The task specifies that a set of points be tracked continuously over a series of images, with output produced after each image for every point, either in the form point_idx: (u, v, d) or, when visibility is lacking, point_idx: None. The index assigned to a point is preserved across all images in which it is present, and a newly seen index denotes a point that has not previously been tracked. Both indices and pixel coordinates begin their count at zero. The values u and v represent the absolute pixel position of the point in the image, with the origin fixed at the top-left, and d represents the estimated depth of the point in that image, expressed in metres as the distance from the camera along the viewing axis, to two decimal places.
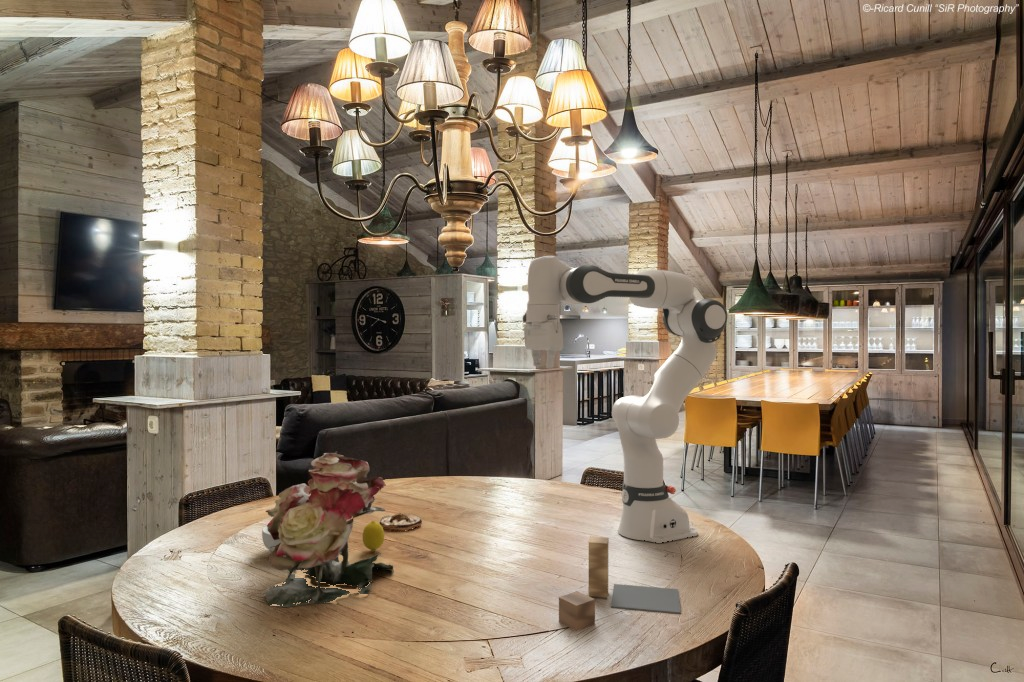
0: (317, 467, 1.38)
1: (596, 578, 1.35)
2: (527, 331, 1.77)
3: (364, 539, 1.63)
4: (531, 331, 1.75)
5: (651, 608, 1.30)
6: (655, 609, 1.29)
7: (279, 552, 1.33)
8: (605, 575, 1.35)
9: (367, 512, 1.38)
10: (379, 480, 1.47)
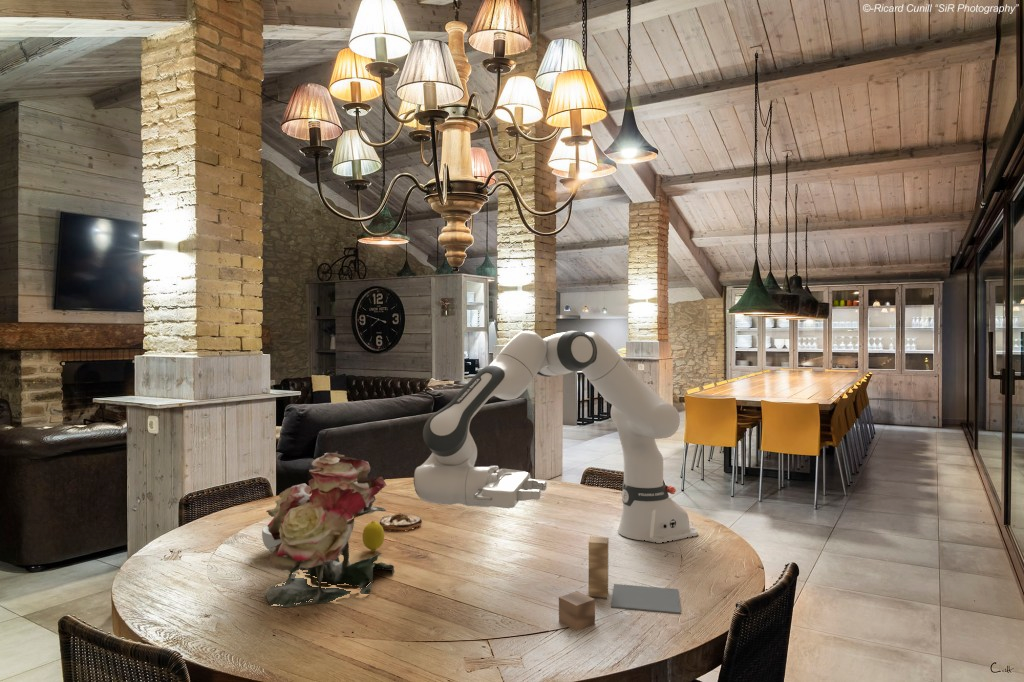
0: (318, 467, 1.38)
1: (596, 578, 1.35)
2: None
3: (364, 539, 1.63)
4: None
5: (651, 608, 1.30)
6: (655, 609, 1.29)
7: (280, 552, 1.33)
8: (605, 575, 1.35)
9: (368, 512, 1.39)
10: (380, 480, 1.47)
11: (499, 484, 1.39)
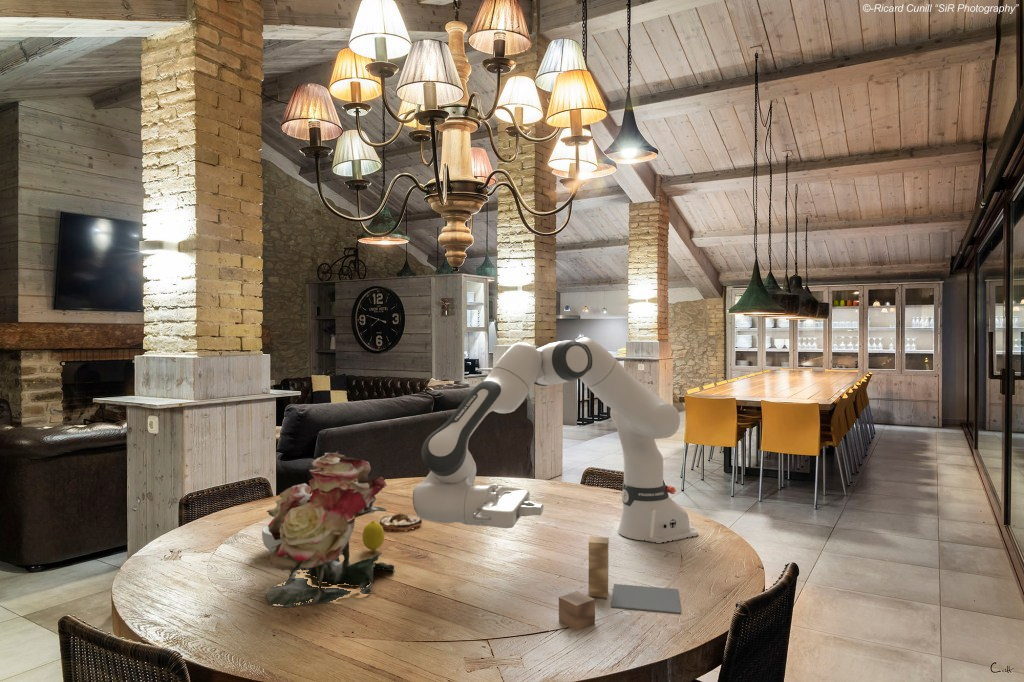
0: (318, 467, 1.39)
1: (596, 578, 1.35)
2: None
3: (364, 539, 1.63)
4: None
5: (651, 608, 1.30)
6: (655, 609, 1.29)
7: (280, 552, 1.33)
8: (605, 575, 1.35)
9: (368, 512, 1.39)
10: (380, 480, 1.47)
11: (498, 503, 1.39)
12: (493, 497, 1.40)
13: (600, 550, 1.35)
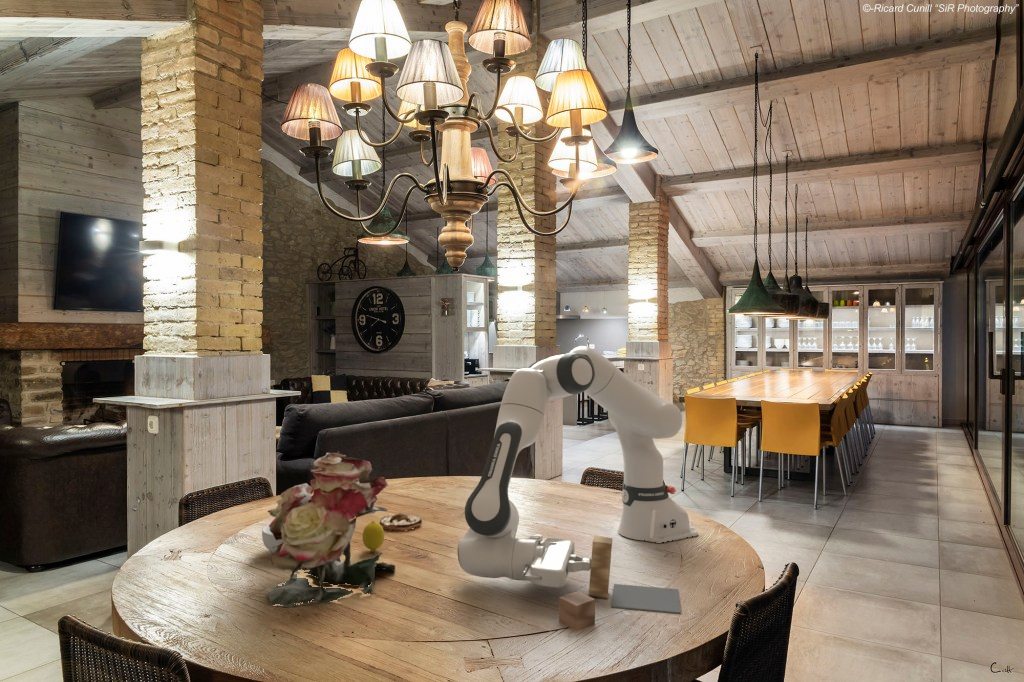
0: (320, 467, 1.39)
1: (597, 578, 1.35)
2: None
3: (364, 539, 1.63)
4: None
5: (651, 608, 1.30)
6: (655, 609, 1.29)
7: (282, 552, 1.33)
8: (607, 575, 1.35)
9: (370, 512, 1.39)
10: (381, 480, 1.47)
11: (546, 559, 1.37)
12: (540, 552, 1.38)
13: (603, 550, 1.35)
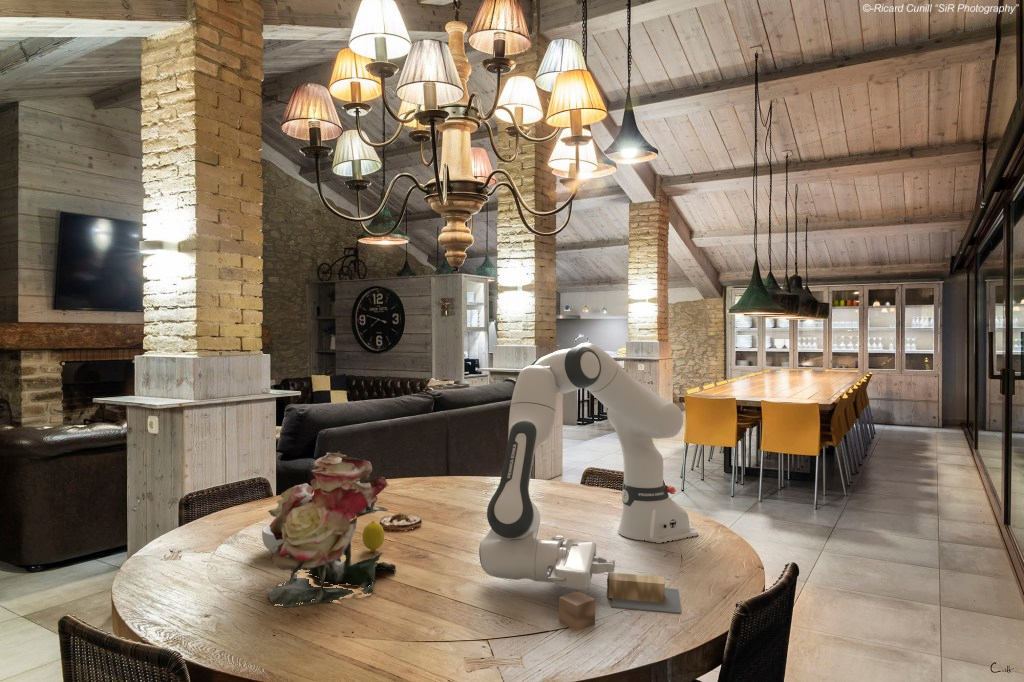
0: (320, 467, 1.39)
1: (627, 588, 1.34)
2: None
3: (364, 539, 1.63)
4: None
5: (651, 608, 1.30)
6: (655, 609, 1.29)
7: (282, 552, 1.33)
8: (631, 598, 1.34)
9: (370, 512, 1.39)
10: (382, 480, 1.47)
11: (570, 561, 1.35)
12: (564, 554, 1.37)
13: (656, 595, 1.33)
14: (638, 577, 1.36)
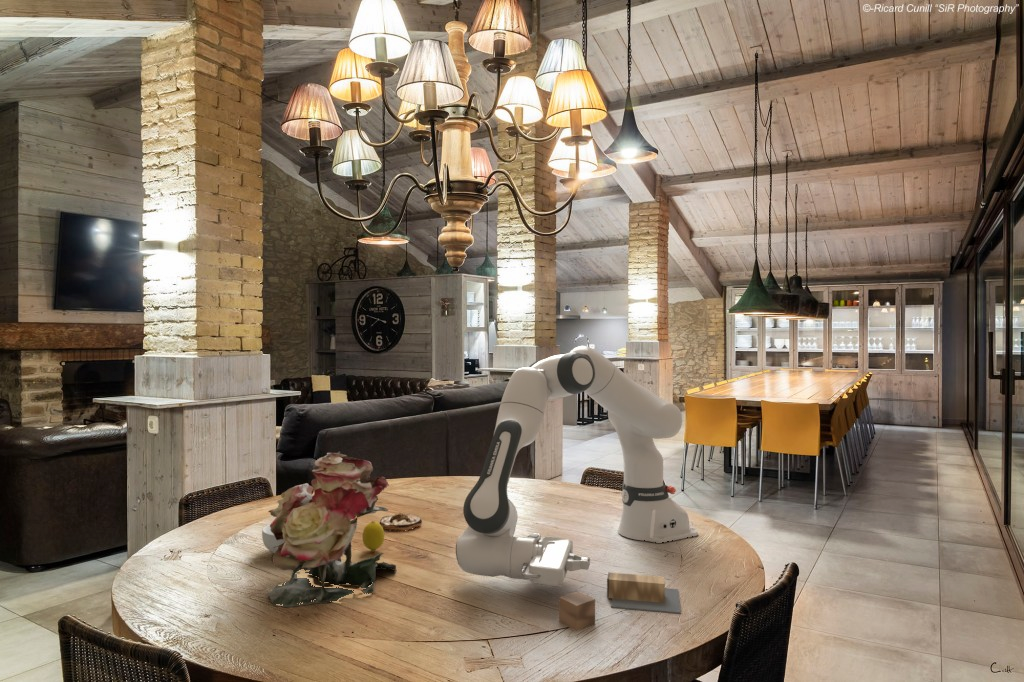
0: (321, 467, 1.39)
1: (627, 588, 1.34)
2: None
3: (364, 539, 1.63)
4: None
5: (651, 608, 1.30)
6: (655, 609, 1.29)
7: (283, 552, 1.33)
8: (631, 598, 1.34)
9: (371, 512, 1.39)
10: (382, 480, 1.47)
11: (545, 558, 1.36)
12: (539, 551, 1.38)
13: (656, 595, 1.33)
14: (638, 577, 1.36)
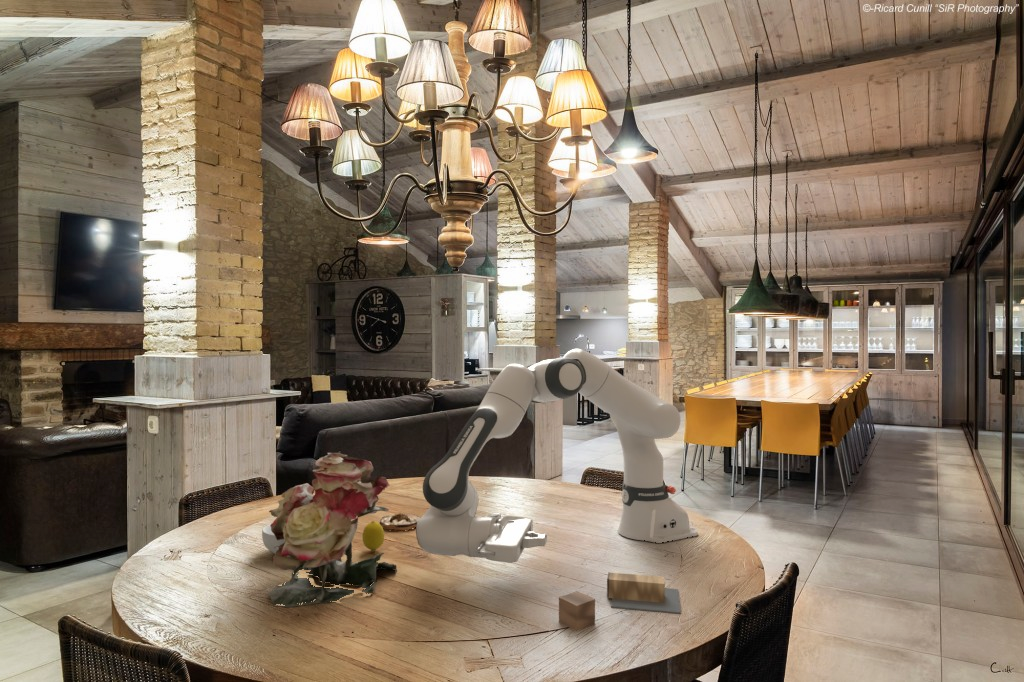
0: (321, 467, 1.39)
1: (627, 588, 1.34)
2: None
3: (364, 539, 1.63)
4: None
5: (651, 608, 1.30)
6: (655, 609, 1.29)
7: (284, 552, 1.33)
8: (631, 598, 1.34)
9: (371, 512, 1.39)
10: (382, 480, 1.47)
11: (502, 536, 1.39)
12: (496, 529, 1.40)
13: (656, 595, 1.33)
14: (638, 577, 1.36)
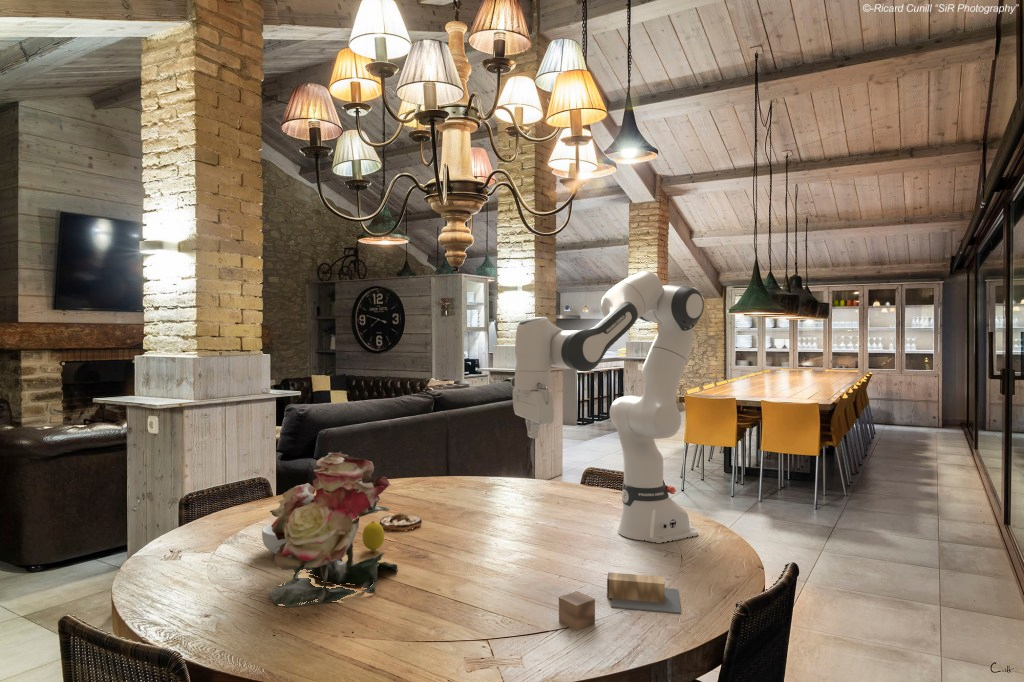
0: (322, 467, 1.39)
1: (627, 588, 1.34)
2: (515, 396, 1.64)
3: (364, 539, 1.63)
4: (520, 397, 1.61)
5: (651, 608, 1.30)
6: (655, 609, 1.29)
7: (285, 552, 1.33)
8: (631, 598, 1.34)
9: (372, 511, 1.39)
10: (383, 480, 1.47)
11: None
12: None
13: (656, 595, 1.33)
14: (638, 577, 1.36)
